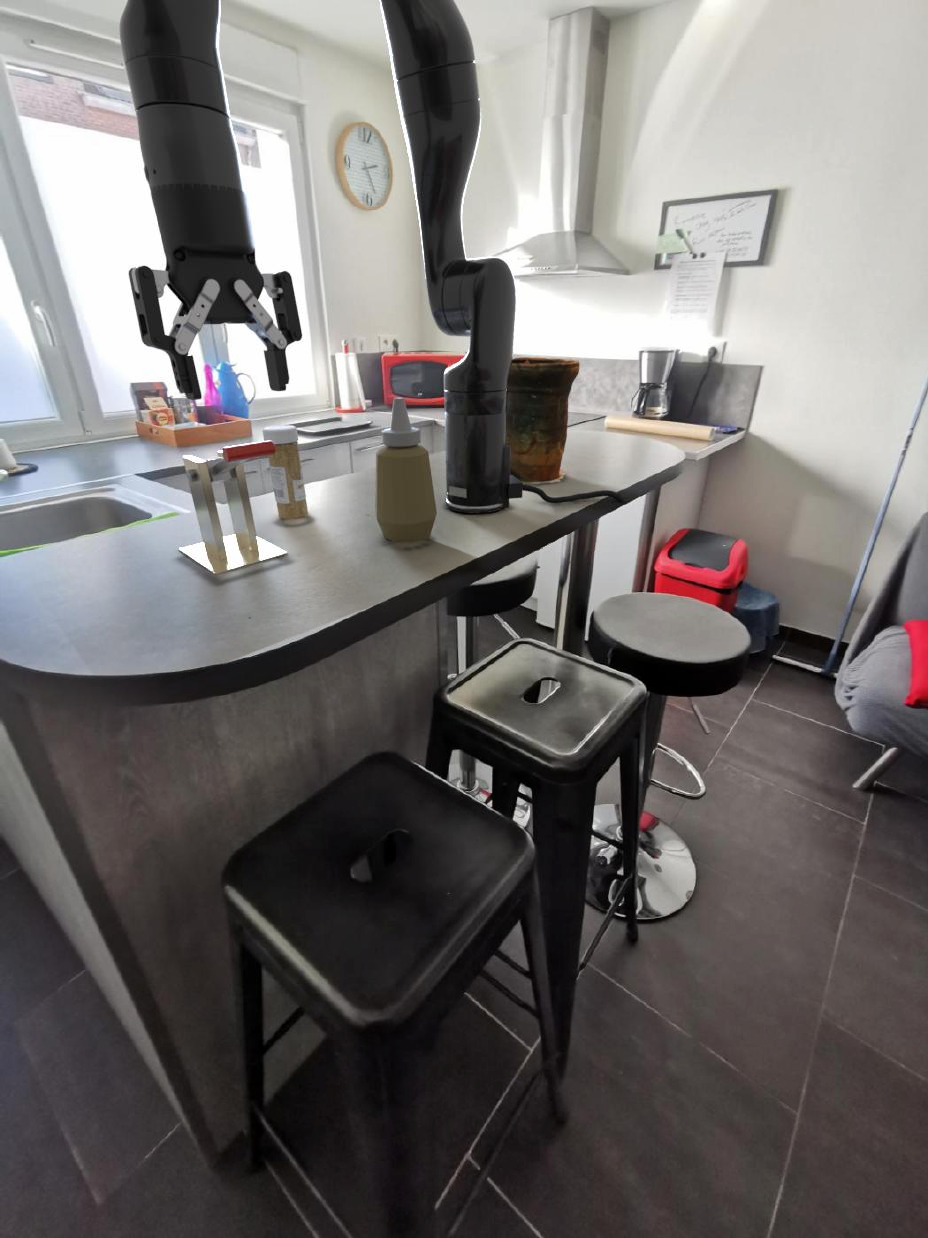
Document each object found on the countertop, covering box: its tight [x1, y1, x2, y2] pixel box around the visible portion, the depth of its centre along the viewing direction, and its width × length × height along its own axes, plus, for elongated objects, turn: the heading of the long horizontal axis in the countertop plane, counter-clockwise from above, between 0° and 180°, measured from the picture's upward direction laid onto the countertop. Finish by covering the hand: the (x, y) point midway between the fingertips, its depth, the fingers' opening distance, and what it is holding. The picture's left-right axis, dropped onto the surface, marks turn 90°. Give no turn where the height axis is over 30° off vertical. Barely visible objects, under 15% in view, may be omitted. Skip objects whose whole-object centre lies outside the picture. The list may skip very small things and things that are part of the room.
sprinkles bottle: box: [262, 424, 309, 520], centre depth 81 cm, size 5×5×13 cm
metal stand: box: [178, 450, 288, 576], centre depth 67 cm, size 11×9×13 cm
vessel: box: [506, 356, 580, 485], centre depth 101 cm, size 14×14×20 cm
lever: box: [205, 440, 275, 486], centre depth 61 cm, size 13×5×2 cm, turn 43°
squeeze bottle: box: [374, 397, 438, 543], centre depth 72 cm, size 8×8×18 cm
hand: (238, 394), depth 55 cm, fingers open, 8 cm apart
